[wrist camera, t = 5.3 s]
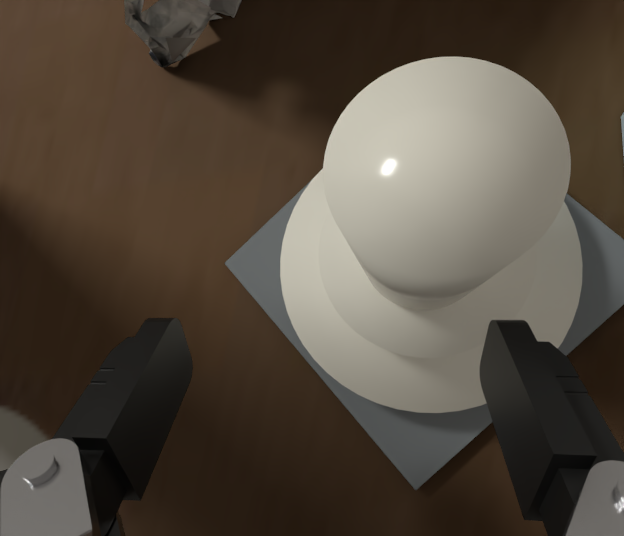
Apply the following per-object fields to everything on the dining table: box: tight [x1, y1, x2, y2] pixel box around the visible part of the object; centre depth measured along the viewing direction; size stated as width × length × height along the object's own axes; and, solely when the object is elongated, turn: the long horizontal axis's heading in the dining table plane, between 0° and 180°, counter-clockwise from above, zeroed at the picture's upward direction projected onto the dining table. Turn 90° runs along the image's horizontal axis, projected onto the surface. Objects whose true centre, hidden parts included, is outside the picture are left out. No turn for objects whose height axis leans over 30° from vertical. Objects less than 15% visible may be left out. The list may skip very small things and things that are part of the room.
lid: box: [280, 56, 583, 413], centre depth 12 cm, size 11×11×10 cm
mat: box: [225, 180, 624, 490], centre depth 17 cm, size 12×12×1 cm
